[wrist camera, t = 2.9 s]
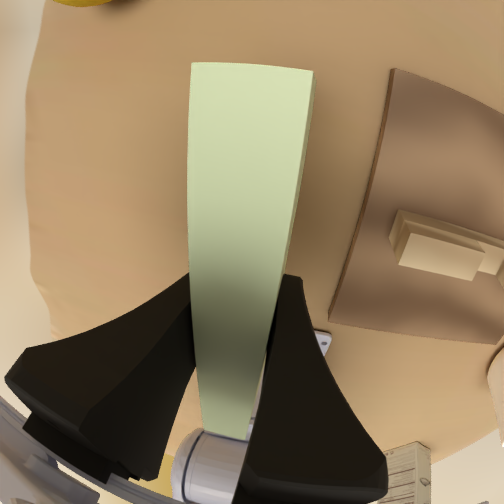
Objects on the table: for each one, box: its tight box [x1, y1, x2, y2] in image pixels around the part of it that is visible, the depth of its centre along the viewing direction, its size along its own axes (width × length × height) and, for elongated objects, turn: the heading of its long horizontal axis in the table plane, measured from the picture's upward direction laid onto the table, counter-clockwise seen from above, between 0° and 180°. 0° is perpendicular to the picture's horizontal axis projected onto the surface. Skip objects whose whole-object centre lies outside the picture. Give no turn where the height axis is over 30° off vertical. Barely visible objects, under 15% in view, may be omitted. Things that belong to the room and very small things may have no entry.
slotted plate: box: [187, 62, 316, 440], centre depth 11 cm, size 14×2×7 cm, turn 174°
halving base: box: [328, 68, 504, 345], centre depth 14 cm, size 18×18×4 cm
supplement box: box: [377, 442, 431, 504], centre depth 31 cm, size 7×7×13 cm
